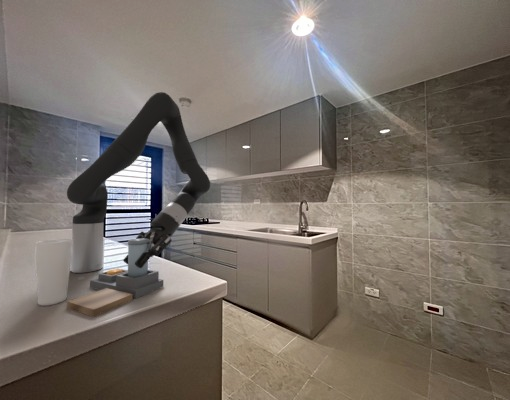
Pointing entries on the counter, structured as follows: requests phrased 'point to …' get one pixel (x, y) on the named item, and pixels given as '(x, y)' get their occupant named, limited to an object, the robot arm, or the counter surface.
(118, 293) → the walnut board
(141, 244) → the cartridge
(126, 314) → the counter surface
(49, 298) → the drinking glass
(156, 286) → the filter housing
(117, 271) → the button
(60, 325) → the counter surface
